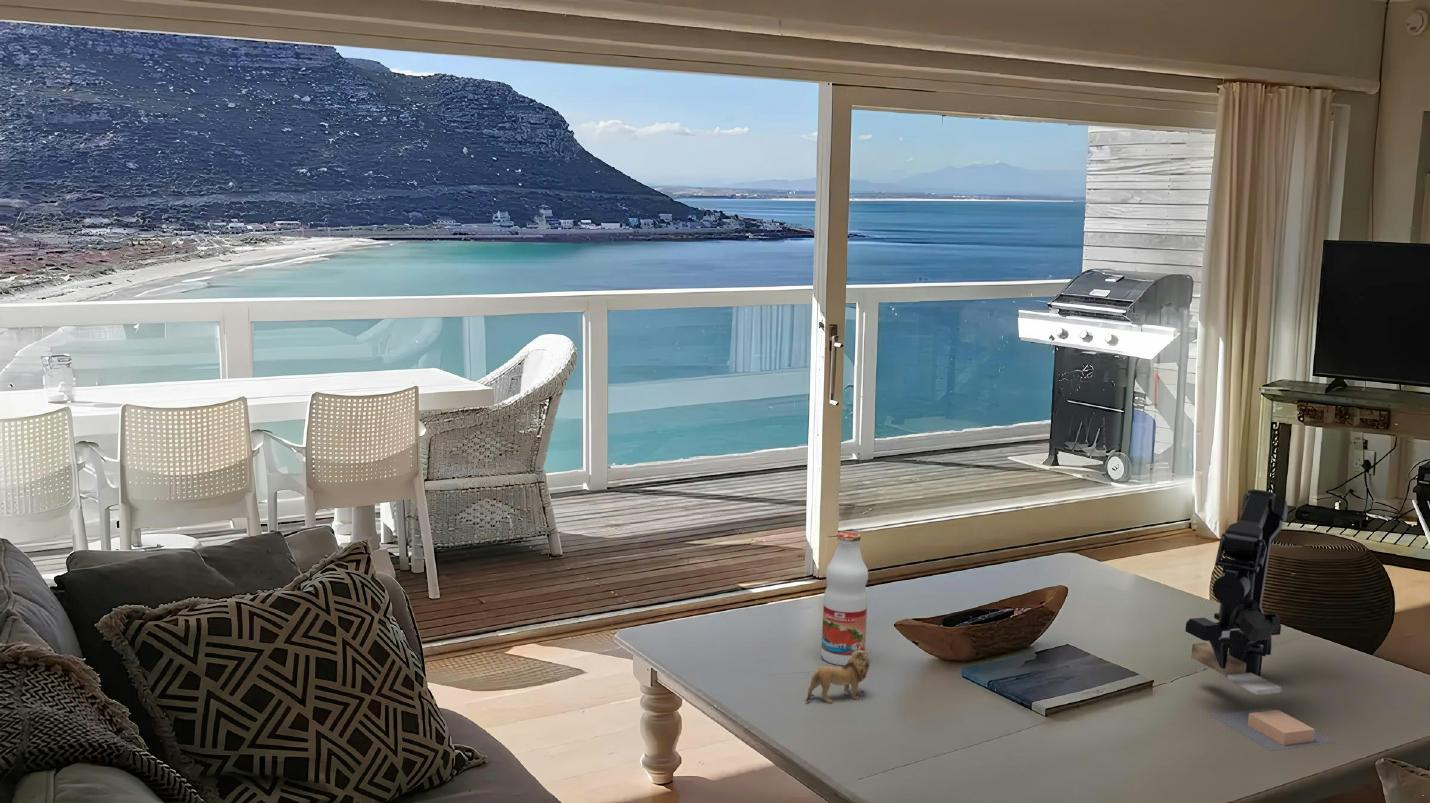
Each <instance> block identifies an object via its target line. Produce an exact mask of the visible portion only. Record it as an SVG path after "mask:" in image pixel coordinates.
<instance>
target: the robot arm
mask: <svg viewBox="0 0 1430 803" xmlns="http://www.w3.org/2000/svg"><path fill="white" fill-rule="evenodd" d="M1241 503H1242V504H1241V509H1240V511H1241V515H1240V516H1239V520H1238V521H1237V522H1233V523H1232V524H1229V525H1228V527H1227V528H1226V530H1225V532H1224V533H1221V536H1220V538H1219V539H1220V540H1219V544H1218V548H1217V549H1218V550H1217V553H1216V558H1215V562H1214V565H1215V566H1217V567H1222V572H1221V574H1220V575H1219V577H1218V578H1217V579H1216V580H1215V581H1214V583H1213V585H1212V593H1213V597H1214V598H1215V599H1216V600H1217V601H1218V602H1219V610H1218V612H1216V613H1214V615H1213V619H1214V620H1217V621H1218V622H1215V621H1212V620H1211V619H1209V618H1206V617H1195V618H1189V619H1187V621H1186V622H1185V632H1186V633H1188V634H1190V635H1192V636H1194V637H1196V638H1198V639H1200V640H1202V641H1205V642H1209V645H1210V646H1212V648H1213V650H1214V653H1215V656H1216V658H1217V661H1218V664H1219V666H1220V668H1222V669H1225V666H1226V663H1227V655H1230V656H1232V657H1235V658H1237V659H1239V660H1241V661H1243V662H1245V663H1247V664H1246V673H1253V674H1255V675H1257V676H1259V677H1261V678H1263V679H1265V680H1267V678H1266V677H1264V676H1262V675H1261V673H1262V665H1263V664H1262V663H1263V657H1266V656H1271V654H1272V647H1273V646H1272V643H1273V642H1272V636H1278V635H1281V631H1282V624H1281V617H1280V615H1279V614H1277V613H1276V612H1273V613H1267V614H1266V613H1265V612H1264V609H1263V607H1262V605H1263V599H1264V592H1265V587H1266V586H1265V585H1266V579H1267V572H1268V567H1269V566H1268V565H1269V560H1270V554H1271V549H1272V548H1271V545H1272V541H1273V539H1274V538H1275V537H1276V536H1277V535H1278V533H1280V532H1281V530H1282V527H1283V524H1284V522H1286V521H1287V518H1288V510H1289V506H1288V503H1287V501H1286V500H1285V499H1283V498H1281V497H1279V496H1277V495H1276V493H1274V492H1272V491H1269V490H1262V489H1255V488H1253V489H1248V490H1247V493H1245V494H1243V497H1242V502H1241Z"/></svg>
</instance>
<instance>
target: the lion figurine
mask: <svg viewBox="0 0 1430 803" xmlns="http://www.w3.org/2000/svg"><path fill="white" fill-rule="evenodd" d="M851 655H852V657H851V659H850V660H848V663H847V664H846V665H842V666H837V667H831V666H825V665H824V666H821V667H819V668H817V670H816V671H815V672H814V673H813V676H812V678H811V680H810V684H809V687H808V690H807V697H806V699H805V702H808V701H810V699H814V698H815V695H814V694H812V693H813V691H814V690H815V689H816V688H818V687H819V686H820V687H821V691H822V692H821V696H822V698H823V699H824V701H825V703H827V704H832V703H833V699H832V698H829V697H828V693H829V690H830V688H831V684H832V685H833V686H834V685H835V686H843V687H844V688H843V694H844V695H847V696H848V695H850V694H851V697H852V699H854V700H860V696H859V695H858V694H857V692H858V689H859V683H860V682H863V680H865V679H866V678H867V675H868V671H869V669H870V664H871V658H870V656H869V653H868V651H866V650H865V651H862V650H857V651H856V652H853V653H852V654H851ZM850 687H851V691H850V690H849V689H850Z"/></svg>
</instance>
